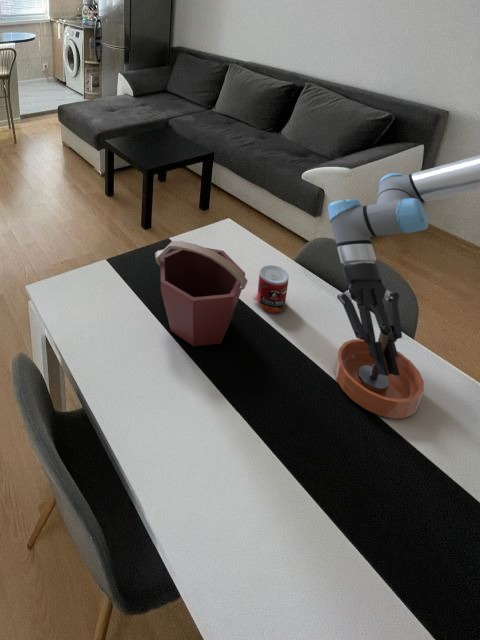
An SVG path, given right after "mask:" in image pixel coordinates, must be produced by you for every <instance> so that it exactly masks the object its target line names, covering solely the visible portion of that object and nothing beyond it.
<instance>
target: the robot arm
mask: <svg viewBox="0 0 480 640" xmlns="http://www.w3.org/2000/svg"><path fill="white" fill-rule="evenodd" d="M476 191H480V154H479V155H475V156H470V157H467V158H464V159H460V160H456V161H453V162H450V163H445V164H442V165H439V166H435V167H431V168H427V169H424V170H420V171H417V172H413V173H410V174H403V173H398V172H391V173H388V174H386V175H384V176H382V177H381V179H379V183H378V185H377V189H376V192H377V199H376V203H374V204H367V205H362V204H361V202H360V201H359V200H358V199H353V198H348V199H340V200H335V201H331V202H330V203H329V204H328V205H327V211H328V217H329V224H330V226H331V230H332V232H333V238H334V240H335V245H336V250H337V253H338V257H339V260H340V263H341V264H342V267H341V269H342V273H343V277H344V281H345V283H346V287H345V291H344V292H342V293H341V294H340V293H339V294H337V295H336V296H337V299H338V300H339V302H340V303H341V305H342V306H343V308H344V312H345V313H346V316H347V318H348V321H349V324H350V326H351V328H352V331H353V333H354V336H355V337H356V339H362V340H364V341H366V343H367V347H368V350H369V354H370V356H371V357H372V358H374V359H375V363H376V367H377V370H378V374H381V375H385V376H388V375H389V374H392V375H400V374H399V370H398V367H397V363H396V360H395V358H398V354H397V351H398V350H397V346H396V344H395V343H396V342H397V340H399V339H402V338H403V333H402V325H401V320H400V312H399V299H400V294H399V293H398V292H392V291H390V290H388V289H387V287H386V286H385V285H384V283H383V282H382V280H383V279H382V275H381V274H382V273H381V271H380V268H379V265H378V264H377V263H375V262H377V257H376V252H375V250H374V247H373V243H372V241H371V238H373V237H374V238H375V237H383V236H391V235H392V236H393V235H401V234H411V233H415V232H421V231H426V230H427V229H428V228H429V220H428V215H427V213H426V211H425V208H424V206H423V204H424V203H427V202H432V201H436V200H440V199H445V198H449V197H454V196H458V195H463V194H467V193H471V192H476ZM384 299H385V301H386V302H385V304H384V302H383V300H384ZM352 300H354V301H355V302H356V305H357V306H355V305H354V303H353V301H352ZM385 306H386V311H385ZM356 307H357V309H356ZM357 310H358V312H359V313H358V312H357ZM371 310H372V311H373V314H374V317H375V320H376V322H377V325H378V328H379V329H380V326H381V325H382V324H386V325H389V326H390V327H391V329H392V333H391V334H390V335H389V338H388V341H387V345H386V349H385V353H384V355H383V352H382V348H381V344H380V342H378V341H376V340H377V339H376V335H375V329H374V324H373V319H372V314H371ZM386 313H387V314H386ZM358 314H359V315H358ZM375 341H376V342H375ZM384 357H385V359H384ZM385 361H386V363H385ZM386 364H387V366H386ZM387 368H388V370H387ZM388 372H389V374H388Z"/></svg>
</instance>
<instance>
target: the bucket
mask: <svg viewBox="0 0 480 640" xmlns="http://www.w3.org/2000/svg"><path fill="white" fill-rule="evenodd" d="M170 250H172V251H170ZM169 251H170V252H169ZM154 257H155V263H156V264H157V265H158V266H159V268H160V294H161V297H162V301H163V306H164V309H165V312H166V318H167V321H168V326H169V329H170V332H172V333H173V334H175V335H176V336H177V337H179V338H181V339H182V340H183V341H185V342H186V343H187V344H189V346H190V345H191V346H192V347H202V346H203V347H204V346H212V345H221V344H222V342H223V340H224V337H225V335H226V334H227V331H228V330H229V327H230V325H231V322H232V319H233V316H234V314H235V310H236V308H237V305H238V302H239V299H240V296H241V293H242V290H245V288H246V287H247V284H248V281H249V280H248V279H247V278H246V272H245V271H244V270H243V269H242V268H241V267H240V266H239V265H238V264H237V263H236V261H234V260H233V259H232V258H231V257H230V256H229V255H228V254H227V253H226V252H225V251H224V250H221V249H215V248H210V247H205V246H202V245H199V244H196V243H191V242H187V241H182V240H172V241H171V242H170V243H169V244H168V245H167V246H166V247H165V248H164V249H159V250H157V251H156V252H154Z"/></svg>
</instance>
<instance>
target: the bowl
mask: <svg viewBox="0 0 480 640" xmlns="http://www.w3.org/2000/svg"><path fill="white" fill-rule="evenodd" d="M375 342H377V341H375ZM397 354H398V358H395V360H396V363H397V367H398V370H399V374H400V375H392V374H389V372H388V374H389V375H388V376H387V377H388V379H389V386H388V389H387V390H386V391H384V392H377V391H373V390H371V389H369V388H367V387H366V386H364V385H363V384H362V383H361V381H360V380H359V378H358V371H359V368H360V367H362V366H365V365H369V366H372V364H373V360H374V358H372V357H371V356H370V354H369V350H368V347H367V343H366V341H364V340H362V339H358V338H356V339H355V338H354V339H349V340H348V341H345V342H343V343H342V344H341V346H340V347H338V352H337V357H336V362H335V367H334V375H335V380H336V382H337V383H338V385H339V387H340V389H341V390H342V392H344V393H345V394H346V395H347V396H348V398H349V399H351V400H352V401H353V402H354V403H355V404H357V405H359V406H360V407H361V408H363V409H365V410H366V411H367V412H371V413H372V414H375V415H378V416H380V417H383V418H389V419H407V418H408V417H410V416H412V415H414V414H415V413H416V412H417V410H418V408H419V407H420V403H421V400H422V398H423V394H424V391H425V383H424V382H425V381H424V379H423V377H422V374H421V372H420V370H419V369H418V368H417V367H416V366H415V365H414V363H413V362H412V360H410V359H409V358H408V357H406V356H405V355H404V354H402V353H401V352H400V351H398V350H397ZM384 359H385V357H384ZM385 363H386V361H385ZM386 366H387V364H386ZM387 370H388V368H387Z"/></svg>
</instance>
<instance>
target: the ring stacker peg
mask: <svg viewBox="0 0 480 640" xmlns="http://www.w3.org/2000/svg"><path fill="white" fill-rule="evenodd" d="M379 331H380V332H379V336H378V339H377V342H380V344H381V348H382V352H383V355H384V353H385V349H386V345H387V341H388V338H389V335H390V334H391V333H392V329H391V327H390V326H389V325H386V324H382V325H381V326H380V328H379ZM358 378H359V380H360V381H361V383H362V384H363V385H364V386H366V387H367V388H369V389H371V390H373V391H377V392H384V391H386V390H387V389H388V386H389V379H388V377H387V376H385V375H381V374H378V370H377V367H376V363H375V359H374V360H373V364H372V366H369V365H365V366H362V367H360V368H359V371H358Z"/></svg>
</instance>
